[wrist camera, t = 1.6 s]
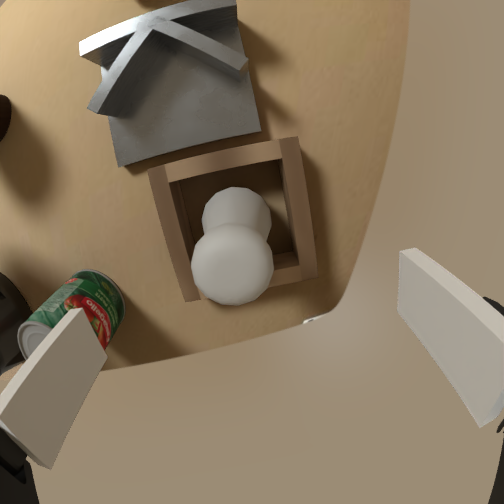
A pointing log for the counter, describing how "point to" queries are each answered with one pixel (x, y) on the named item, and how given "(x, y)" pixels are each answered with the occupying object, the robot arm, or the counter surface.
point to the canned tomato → (71, 297)
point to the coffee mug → (4, 115)
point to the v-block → (173, 79)
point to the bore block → (168, 175)
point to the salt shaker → (234, 248)
